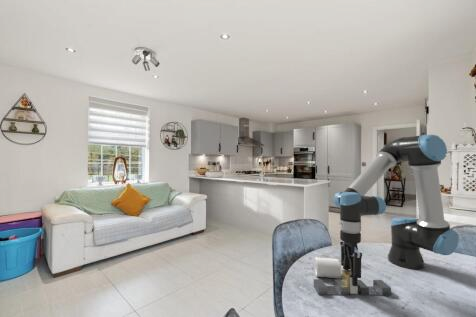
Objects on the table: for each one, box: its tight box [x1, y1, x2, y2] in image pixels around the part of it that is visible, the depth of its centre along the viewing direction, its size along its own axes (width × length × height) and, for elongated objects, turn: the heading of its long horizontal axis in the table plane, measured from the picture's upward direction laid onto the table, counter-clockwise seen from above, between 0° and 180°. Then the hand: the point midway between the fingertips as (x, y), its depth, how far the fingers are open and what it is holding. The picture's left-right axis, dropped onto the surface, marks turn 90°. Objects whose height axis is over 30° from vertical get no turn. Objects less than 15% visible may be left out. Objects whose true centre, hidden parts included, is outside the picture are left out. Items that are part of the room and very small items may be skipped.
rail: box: [313, 278, 392, 297], centre depth 91 cm, size 28×6×3 cm, turn 89°
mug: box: [314, 256, 342, 280], centre depth 105 cm, size 12×10×8 cm
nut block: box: [341, 269, 351, 293], centre depth 91 cm, size 4×4×7 cm
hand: (350, 289), depth 91 cm, fingers open, 4 cm apart
